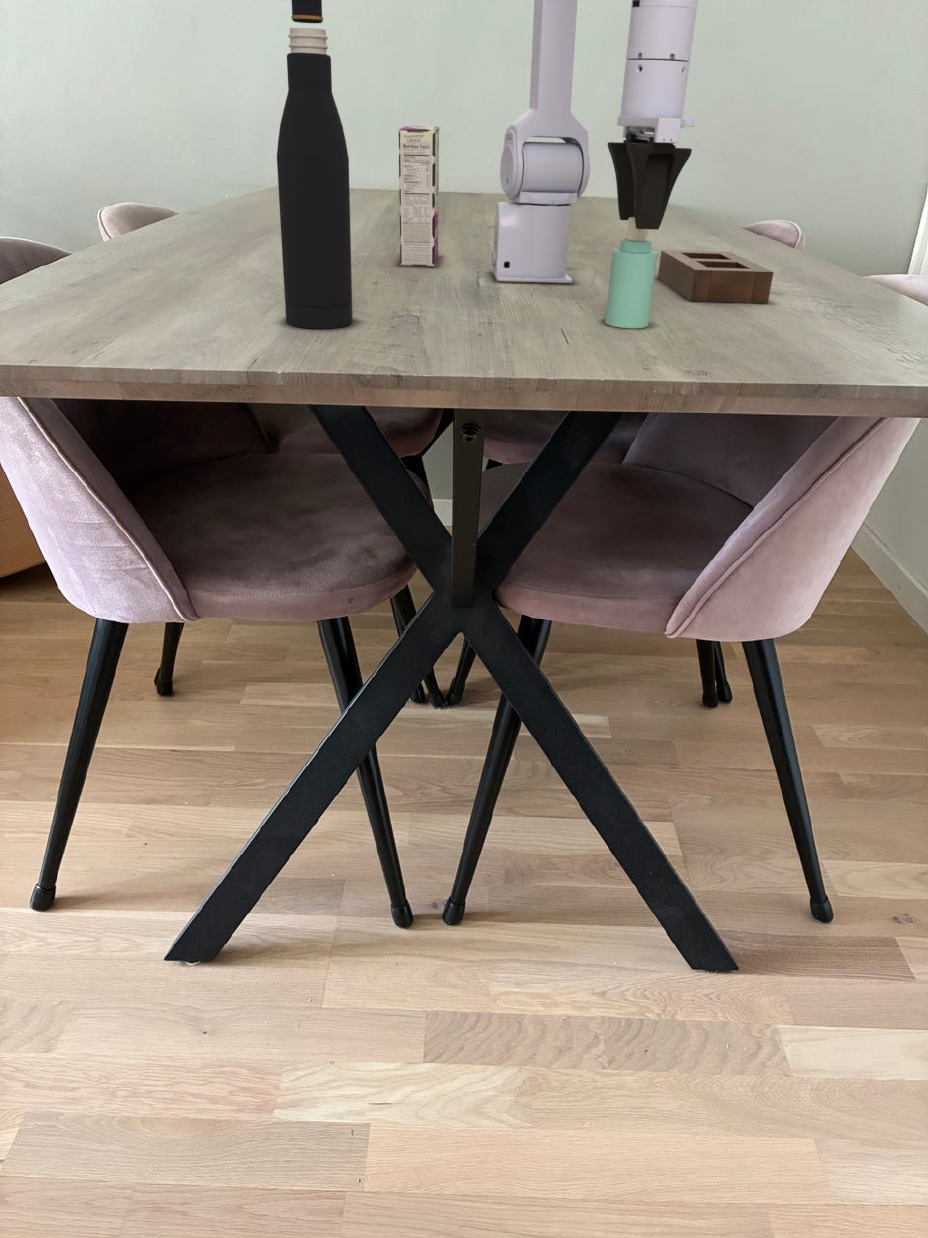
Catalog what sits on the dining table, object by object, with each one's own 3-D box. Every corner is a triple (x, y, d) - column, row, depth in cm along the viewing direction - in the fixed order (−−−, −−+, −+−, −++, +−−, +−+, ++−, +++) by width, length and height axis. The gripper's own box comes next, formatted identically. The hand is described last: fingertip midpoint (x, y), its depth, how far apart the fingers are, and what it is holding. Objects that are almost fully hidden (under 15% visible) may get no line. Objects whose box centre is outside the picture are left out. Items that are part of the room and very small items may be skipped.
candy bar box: (403, 254, 132) (404, 124, 124) (438, 256, 132) (441, 126, 124) (397, 266, 122) (397, 126, 114) (435, 267, 122) (437, 127, 114)
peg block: (690, 301, 107) (695, 269, 105) (657, 277, 121) (661, 249, 120) (767, 303, 108) (773, 271, 106) (726, 279, 122) (730, 251, 120)
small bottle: (609, 327, 92) (621, 219, 87) (601, 318, 96) (612, 214, 91) (652, 328, 93) (666, 221, 88) (642, 319, 96) (656, 216, 91)
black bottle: (340, 331, 87) (329, -63, 72) (276, 325, 88) (251, -63, 73) (360, 318, 92) (353, -50, 77) (299, 313, 93) (281, -51, 78)
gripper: (724, 59, 77) (699, 234, 84) (680, 66, 90) (661, 217, 96) (641, 56, 77) (622, 232, 83) (608, 63, 89) (594, 215, 96)
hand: (638, 224), depth 90 cm, fingers open, 7 cm apart
